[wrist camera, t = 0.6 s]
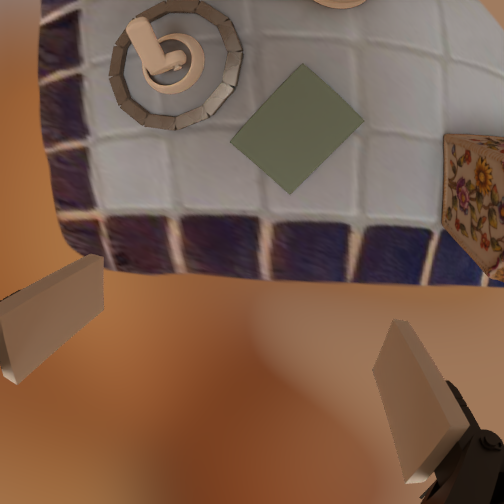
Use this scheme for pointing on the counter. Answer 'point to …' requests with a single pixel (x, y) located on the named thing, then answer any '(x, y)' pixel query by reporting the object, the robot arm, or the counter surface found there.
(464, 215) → the decorative jar
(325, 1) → the jar
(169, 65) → the hook
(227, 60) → the metal ring
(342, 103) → the rubber mat
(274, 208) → the counter surface
